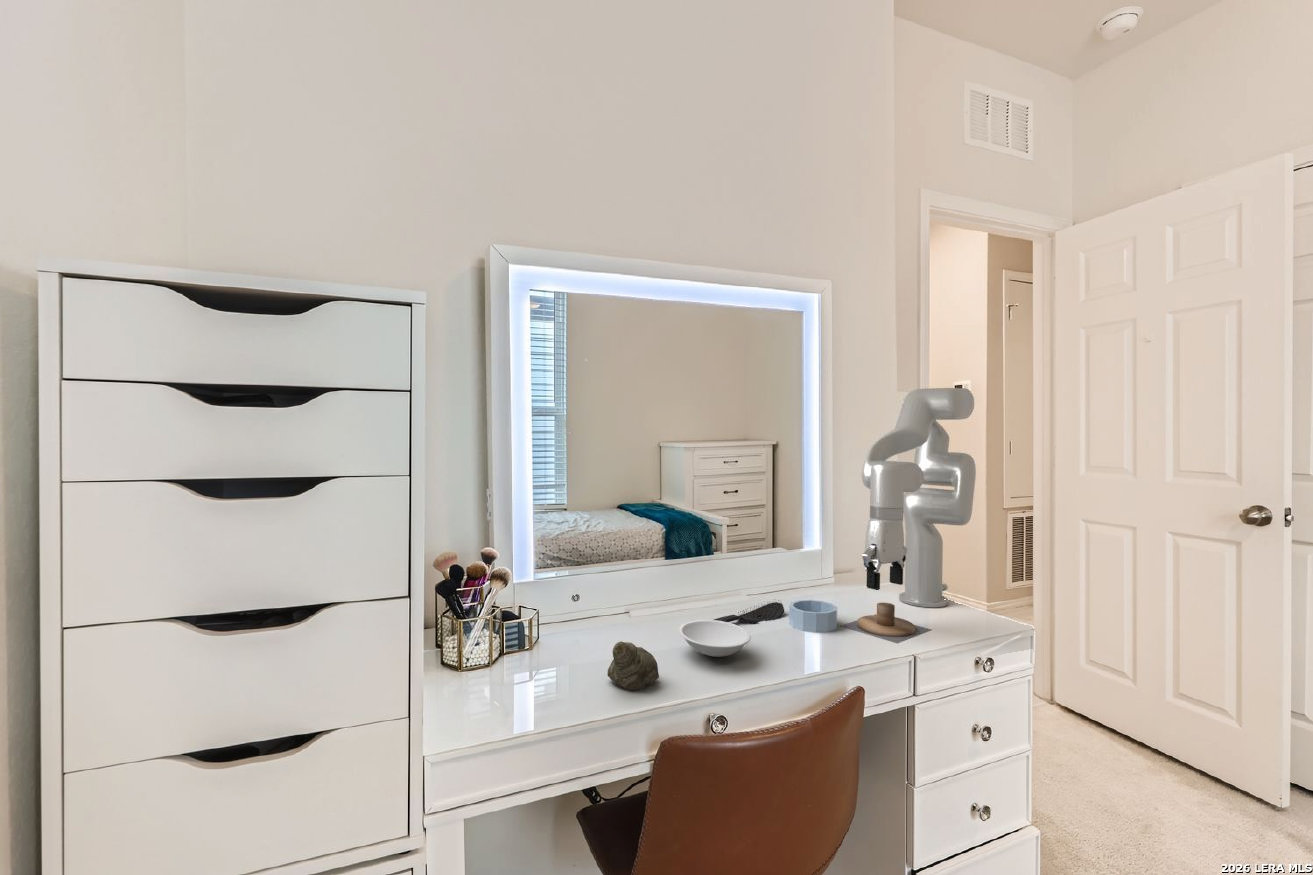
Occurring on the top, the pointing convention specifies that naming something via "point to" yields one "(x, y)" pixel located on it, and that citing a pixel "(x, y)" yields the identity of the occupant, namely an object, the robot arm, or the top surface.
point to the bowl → (813, 616)
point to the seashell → (632, 666)
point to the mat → (918, 631)
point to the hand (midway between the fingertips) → (884, 586)
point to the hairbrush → (758, 614)
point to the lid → (886, 623)
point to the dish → (714, 637)
